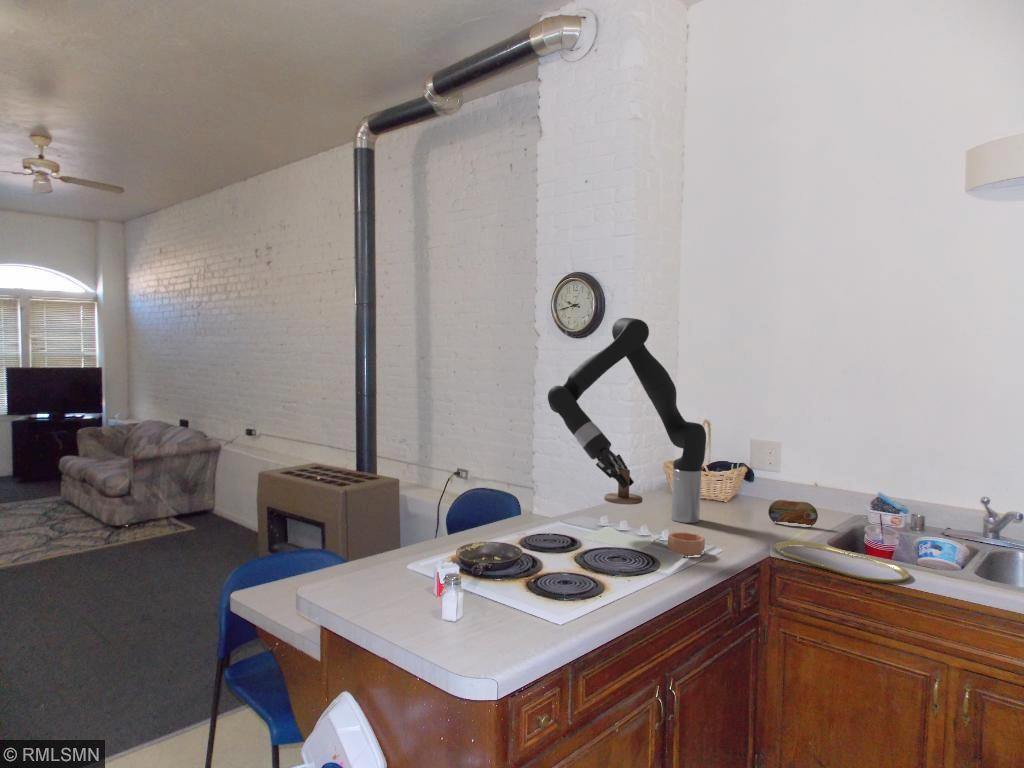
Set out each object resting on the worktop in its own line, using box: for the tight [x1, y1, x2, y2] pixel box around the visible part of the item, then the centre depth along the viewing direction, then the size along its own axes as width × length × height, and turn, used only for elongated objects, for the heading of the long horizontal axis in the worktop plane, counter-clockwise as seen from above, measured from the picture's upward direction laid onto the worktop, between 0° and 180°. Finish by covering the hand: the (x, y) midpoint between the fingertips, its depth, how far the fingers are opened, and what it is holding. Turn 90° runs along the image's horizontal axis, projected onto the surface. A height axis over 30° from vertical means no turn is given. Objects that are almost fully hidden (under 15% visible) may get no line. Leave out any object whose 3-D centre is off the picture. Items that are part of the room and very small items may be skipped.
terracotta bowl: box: [667, 531, 706, 557], centre depth 177 cm, size 9×9×4 cm
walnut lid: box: [603, 469, 643, 505], centre depth 187 cm, size 11×11×9 cm
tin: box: [767, 499, 819, 527], centre depth 213 cm, size 15×3×8 cm, turn 68°
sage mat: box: [580, 526, 660, 551], centre depth 187 cm, size 18×18×1 cm
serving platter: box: [773, 540, 910, 584], centre depth 173 cm, size 19×35×2 cm, turn 31°
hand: (628, 485), depth 186 cm, fingers closed on walnut lid, 3 cm apart
